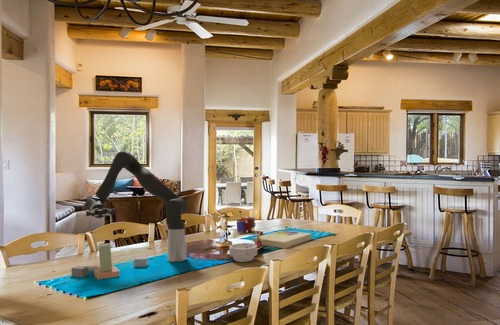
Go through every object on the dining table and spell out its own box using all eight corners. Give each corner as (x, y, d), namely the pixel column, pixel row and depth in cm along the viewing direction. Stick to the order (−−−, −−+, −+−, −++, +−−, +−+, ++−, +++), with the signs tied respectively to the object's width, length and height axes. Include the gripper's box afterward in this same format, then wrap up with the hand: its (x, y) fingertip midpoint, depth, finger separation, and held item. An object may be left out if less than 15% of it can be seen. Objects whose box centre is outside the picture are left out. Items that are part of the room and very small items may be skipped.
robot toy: (233, 234, 306) (251, 228, 320) (241, 235, 300) (260, 229, 314) (231, 211, 305) (249, 206, 319) (240, 212, 298) (258, 207, 313)
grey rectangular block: (88, 275, 196) (88, 266, 195) (82, 277, 192) (82, 268, 192) (77, 274, 197) (77, 265, 197) (71, 276, 193) (71, 267, 193)
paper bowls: (223, 261, 221) (223, 246, 221) (239, 255, 233) (239, 241, 233) (247, 265, 212) (247, 249, 212) (262, 259, 225) (262, 244, 225)
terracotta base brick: (115, 272, 202) (115, 266, 202) (119, 277, 193) (119, 271, 193) (93, 275, 197) (93, 269, 197) (96, 280, 188) (96, 274, 188)
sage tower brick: (112, 267, 198) (110, 242, 197) (111, 270, 193) (109, 245, 192) (101, 268, 196) (99, 244, 196) (100, 271, 192) (98, 246, 191)
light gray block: (147, 264, 214) (147, 257, 214) (146, 266, 210) (145, 259, 210) (136, 265, 214) (135, 257, 214) (134, 267, 210) (134, 259, 210)
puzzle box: (252, 244, 266) (284, 249, 251) (252, 237, 266) (284, 241, 251) (282, 236, 295) (312, 240, 280) (282, 230, 295) (312, 233, 280)
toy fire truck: (253, 251, 245) (253, 234, 245) (258, 246, 259) (258, 230, 259) (259, 251, 245) (259, 235, 244) (263, 246, 258) (263, 231, 258)
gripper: (83, 204, 215) (87, 207, 201) (112, 202, 222) (117, 205, 208) (84, 218, 216) (87, 222, 201) (112, 216, 222) (118, 220, 208)
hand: (103, 213), depth 204 cm, fingers open, 8 cm apart
